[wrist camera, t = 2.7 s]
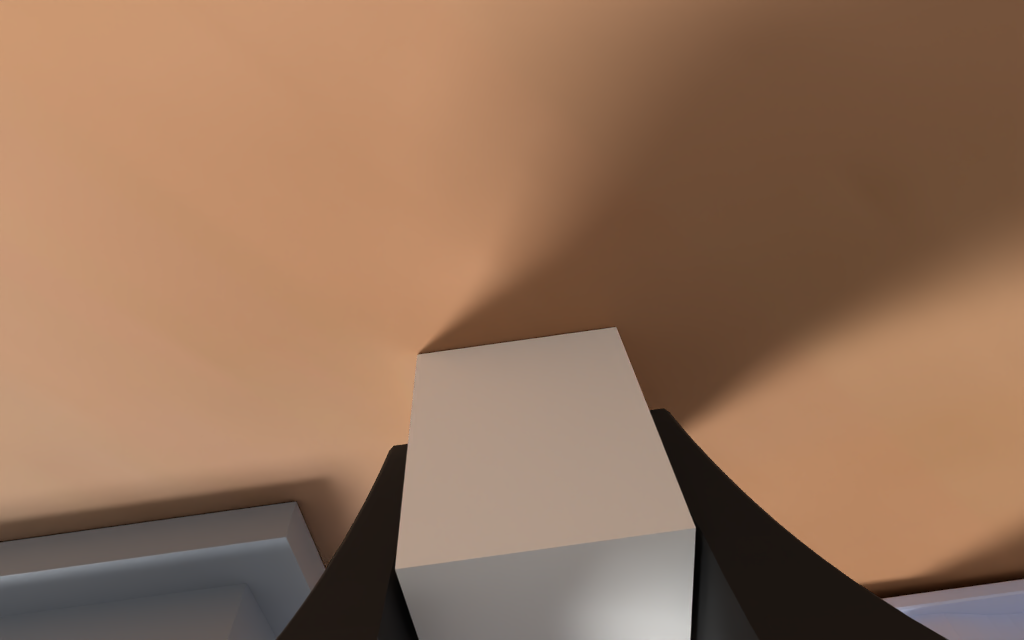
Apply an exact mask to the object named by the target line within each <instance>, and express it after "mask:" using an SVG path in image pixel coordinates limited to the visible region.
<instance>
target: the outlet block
mask: <svg viewBox="0 0 1024 640" xmlns="http://www.w3.org/2000/svg"><path fill="white" fill-rule="evenodd" d="M324 571H325V567H324V565H323V563H322V560H321V558H320V556H319V553H318V551H317V549H316V546H315V544H314V542H313V539H312V537H311V535H310V532H309V530H308V528H307V525H306V523H305V521H304V518H303V516H302V514H301V512H300V509H299V507H298V505H297V502H289V503H282V504H274V505H267V506H260V507H253V508H246V509H238V510H231V511H224V512H217V513H209V514H202V515H195V516H188V517H180V518H173V519H166V520H159V521H151V522H144V523H137V524H130V525H122V526H115V527H108V528H101V529H93V530H86V531H79V532H72V533H65V534H57V535H50V536H43V537H36V538H28V539H21V540H14V541H7V542H0V640H276V639H277V637H278V636H279V635H280V634H281V632H282V631H283V630H284V628H285V627H286V626H287V624H288V623H289V622H290V620H291V619H292V618H293V616H294V615H295V613H296V612H297V611H298V609H299V608H300V607H301V605H302V604H303V602H304V601H305V600H306V598H307V597H308V595H309V594H310V592H311V591H312V589H313V588H314V586H315V585H316V583H317V582H318V580H319V579H320V577H321V576H322V574H323V573H324Z"/></svg>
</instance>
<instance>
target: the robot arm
mask: <svg viewBox="0 0 1024 640" xmlns="http://www.w3.org/2000/svg"><path fill="white" fill-rule="evenodd" d="M649 411H650V413H651V416H652V419H653V421H654V424H655V426H656V429H657V431H658V434H659V436H660V439H661V441H662V444H663V446H664V449H665V451H666V454H667V456H668V459H669V462H670V464H671V467H672V469H673V472H674V474H675V477H676V479H677V482H678V484H679V487H680V489H681V492H682V494H683V497H684V499H685V502H686V504H687V507H688V510H689V512H690V515H691V517H692V520H693V522H694V525H695V527H696V533H695V554H694V575H693V595H692V616H691V636H690V640H1024V579H1020V580H1013V581H1005V582H998V583H991V584H984V585H976V586H969V587H962V588H954V589H947V590H940V591H932V592H925V593H918V594H911V595H903V596H896V597H889V598H880V597H878V596H876V595H875V594H873V593H872V592H870V591H869V590H867V589H866V588H864V587H863V586H861V585H859V584H858V583H856V582H855V581H853V580H852V579H851V578H849V577H848V576H846V575H845V574H844V573H842V572H841V571H839V570H838V569H837V568H835V567H834V566H833V565H831V564H830V563H828V562H827V561H826V560H824V559H823V558H822V557H820V556H819V555H818V554H816V553H815V552H814V551H813V550H811V549H810V548H809V547H807V546H806V545H805V544H803V543H802V542H801V541H800V540H798V539H797V538H796V537H795V536H793V535H792V534H791V533H790V532H788V531H787V530H786V529H785V528H784V527H783V526H781V525H780V524H779V523H778V522H777V521H775V520H774V519H773V518H772V517H771V516H770V515H769V514H768V513H766V512H765V511H764V510H763V509H762V508H761V507H760V506H758V505H757V504H756V503H755V502H754V501H753V500H752V499H751V498H750V497H749V496H748V495H747V494H745V493H744V492H743V491H742V490H741V489H740V488H739V487H738V486H737V485H736V484H735V483H734V482H733V481H732V480H731V479H730V478H729V477H728V476H727V475H726V474H725V473H724V472H723V471H722V470H721V469H720V468H719V467H718V466H717V465H716V464H715V463H714V462H713V461H712V460H711V459H710V458H709V457H708V456H707V455H706V454H705V452H704V451H703V450H702V449H701V448H700V447H699V446H698V445H697V444H696V443H695V442H694V441H693V439H692V438H691V437H690V436H689V435H688V434H687V433H686V431H685V430H684V429H683V428H682V427H681V426H680V424H679V423H678V422H677V421H676V420H675V419H674V417H673V416H672V415H671V414H670V412H668V411H667V410H665V409H664V408H663V409H656V410H649ZM407 449H408V444H403V445H396V446H393V447H392V448H391V450H390V451H389V453H388V455H387V457H386V460H385V462H384V464H383V466H382V468H381V470H380V473H379V475H378V477H377V479H376V481H375V483H374V485H373V487H372V489H371V491H370V493H369V495H368V497H367V499H366V501H365V503H364V504H363V506H362V508H361V510H360V512H359V514H358V515H357V517H356V519H355V521H354V523H353V524H352V526H351V528H350V530H349V532H348V533H347V535H346V537H345V539H344V540H343V542H342V544H341V545H340V547H339V549H338V550H337V552H336V553H335V555H334V557H333V558H332V560H331V561H330V563H329V565H328V566H327V568H326V569H325V571H324V573H323V574H322V576H321V577H320V579H319V580H318V582H317V583H316V585H315V586H314V588H313V589H312V591H311V592H310V594H309V595H308V597H307V598H306V600H305V601H304V602H303V604H302V605H301V607H300V608H299V609H298V611H297V612H296V613H295V615H294V616H293V618H292V619H291V620H290V622H289V623H288V624H287V626H286V627H285V628H284V630H283V631H282V632H281V634H280V635H279V636H278V637H277V639H276V640H419V639H418V636H417V633H416V630H415V627H414V624H413V621H412V618H411V615H410V612H409V609H408V606H407V603H406V600H405V597H404V594H403V592H402V589H401V586H400V583H399V580H398V577H397V574H396V571H395V564H396V554H397V545H398V535H399V526H400V516H401V506H402V497H403V487H404V477H405V468H406V458H407Z"/></svg>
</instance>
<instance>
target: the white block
mask: <svg viewBox="0 0 1024 640" xmlns="http://www.w3.org/2000/svg"><path fill="white" fill-rule="evenodd" d="M695 533H696V527H695V525H694V522H693V520H692V517H691V515H690V512H689V510H688V507H687V504H686V502H685V499H684V497H683V494H682V492H681V489H680V487H679V484H678V482H677V479H676V477H675V474H674V472H673V469H672V467H671V464H670V462H669V459H668V456H667V454H666V451H665V449H664V446H663V444H662V441H661V439H660V436H659V434H658V431H657V429H656V426H655V424H654V421H653V419H652V416H651V413H650V411H649V408H648V406H647V403H646V401H645V398H644V396H643V393H642V391H641V388H640V386H639V383H638V381H637V378H636V376H635V373H634V370H633V368H632V365H631V363H630V360H629V358H628V355H627V353H626V350H625V348H624V345H623V343H622V340H621V338H620V335H619V333H618V330H617V328H616V327H612V328H605V329H598V330H591V331H584V332H577V333H569V334H562V335H555V336H548V337H541V338H533V339H526V340H519V341H512V342H505V343H497V344H490V345H483V346H476V347H469V348H461V349H454V350H447V351H440V352H433V353H426V354H418V355H417V362H416V371H415V381H414V391H413V400H412V410H411V420H410V429H409V439H408V449H407V458H406V468H405V477H404V487H403V497H402V506H401V516H400V526H399V535H398V545H397V554H396V564H395V571H396V574H397V577H398V580H399V583H400V586H401V589H402V592H403V594H404V597H405V600H406V603H407V606H408V609H409V612H410V615H411V618H412V621H413V624H414V627H415V630H416V633H417V636H418V639H419V640H690V636H691V616H692V595H693V575H694V554H695Z"/></svg>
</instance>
